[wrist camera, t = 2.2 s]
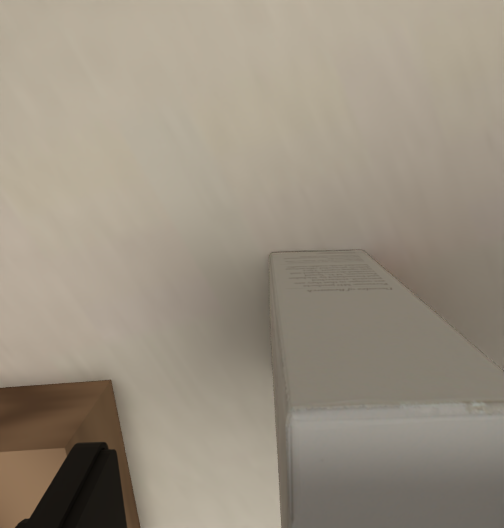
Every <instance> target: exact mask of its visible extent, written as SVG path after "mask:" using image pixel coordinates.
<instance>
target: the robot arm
mask: <svg viewBox="0 0 504 528" xmlns="http://www.w3.org/2000/svg"><path fill="white" fill-rule="evenodd" d="M15 528H127V522H126V515H125V508H124V500H123V493H122V486H121V479H120V471H119V464H118V457H117V452H116V450H114V449H109V448H108V445H107V443H106V442H84V443H76V444H75V445H74V446H73V447H72V449H71V451H70V452H69V454H68V456H67V457H66V459H65V460H64V462H63V464H62V465H61V467H60V469H59V470H58V472H57V474H56V475H55V477H54V479H53V480H52V482H51V484H50V485H49V487H48V488H47V490H46V492H45V493H44V495H43V497H42V498H41V500H40V502H39V503H38V505H37V507H36V508H35V510H34V512H33V513H32V515H31V516H30V518H28V519H24V520H22V521H21V522H19V523H18V524H17V526H16V527H15Z"/></svg>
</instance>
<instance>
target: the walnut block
mask: <svg viewBox="0 0 504 528" xmlns="http://www.w3.org/2000/svg"><path fill="white" fill-rule="evenodd" d="M84 442H106V443H107V445H108V448H109V449H114V450H116V452H117V457H118V464H119V471H120V479H121V486H122V493H123V500H124V508H125V515H126V522H127V528H140V523H139V518H138V513H137V508H136V503H135V498H134V493H133V488H132V483H131V478H130V473H129V468H128V463H127V458H126V453H125V447H124V442H123V437H122V432H121V427H120V422H119V417H118V412H117V407H116V402H115V397H114V392H113V387H112V382H111V380H104V381H90V382H76V383H62V384H48V385H34V386H20V387H6V388H0V528H15V527H16V526H17V524H18V523H19V522H21V521H22V520H24V519H28V518H30V516H31V515H32V513H33V512H34V510H35V508H36V507H37V505H38V503H39V502H40V500H41V498H42V497H43V495H44V493H45V492H46V490H47V488H48V487H49V485H50V484H51V482H52V480H53V479H54V477H55V475H56V474H57V472H58V470H59V469H60V467H61V465H62V464H63V462H64V460H65V459H66V457H67V456H68V454H69V452H70V451H71V449H72V447H73V446H74V445H75V444H76V443H84Z"/></svg>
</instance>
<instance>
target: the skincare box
mask: <svg viewBox="0 0 504 528" xmlns="http://www.w3.org/2000/svg"><path fill="white" fill-rule="evenodd" d="M269 303H270V329H271V350H272V370H273V388H274V404H275V423H276V437H277V454H278V473H279V492H280V510H281V528H504V371H503V370H502V369H501V368H500V367H498V366H497V365H496V364H495V363H494V362H492V361H491V360H490V359H489V358H488V357H487V356H485V355H484V354H483V353H482V352H481V351H480V350H478V349H477V348H476V347H475V346H474V345H473V344H471V343H470V342H469V341H468V340H467V339H466V338H464V337H463V336H462V335H461V334H460V333H459V332H458V331H457V330H455V329H454V328H453V327H452V326H451V325H449V324H448V323H447V322H446V321H445V320H444V319H443V318H442V317H440V316H439V315H438V314H437V313H435V312H434V311H433V310H432V309H431V308H430V307H428V306H427V305H426V304H425V303H424V302H423V301H421V300H420V299H419V298H418V297H417V296H416V295H415V294H414V293H413V292H411V291H410V290H409V289H408V288H407V287H405V286H404V285H403V284H402V283H401V282H400V281H398V280H397V279H396V278H395V277H394V276H393V275H391V274H390V273H389V272H388V271H387V270H386V269H384V268H383V267H382V266H381V265H380V264H379V263H378V262H376V261H375V260H374V259H373V258H372V257H371V256H369V255H368V254H367V253H366V252H365V251H363V250H346V251H310V252H275V253H271V254H270V255H269Z"/></svg>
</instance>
